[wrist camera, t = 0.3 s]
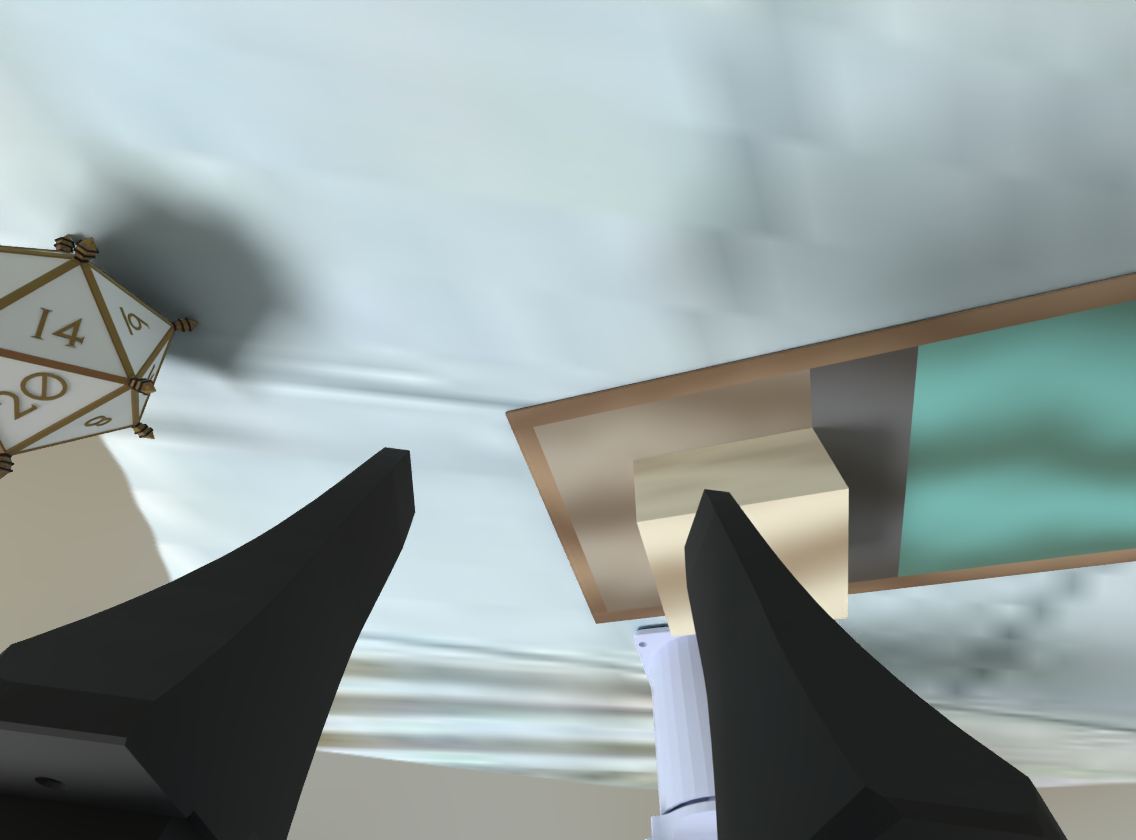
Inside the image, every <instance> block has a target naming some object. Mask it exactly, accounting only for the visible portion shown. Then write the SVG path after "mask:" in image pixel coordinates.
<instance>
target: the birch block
mask: <svg viewBox="0 0 1136 840" xmlns="http://www.w3.org/2000/svg"><path fill="white" fill-rule="evenodd" d="M633 470H634V486H635V502H636V518H637V525H638V528H639V531H640V535H641V538H642V541H643V544H644V548H645V551H646V554H647V557H648V561H649V564H650V567H651V570H652V574H653V577H654V580H655V583H656V587H657V590H658V593H659V597H660V600H661V603H662V606H663V610H664V613H665V616H666V619H667V623H668V626H669V629H670V632H671V636H672V637H674V636H683V635H693V634H696V633H695V628H694V623H693V618H692V612H691V607H690V602H689V596H688V591H687V583H686V570H685V551H684V546H685V543H686V541H687V538H688V535H689V532H690V529H691V526H692V523H693V520H694V517H695V514H696V512H697V509H698V506H699V503H700V500H701V497H702V494H703V491H704V489H709V490H717V491H724V492H730V494H731V495H732V496H733V498H734V499H735V500H736V502H737V503H738V504H739V506H740V507H741V509H742V510H743V511H744V513H745V514H746V515H747V517H748V518H749V519H750V521H751V522H752V523H753V525H754V526H755V528H756V529H757V530H758V532H759V533H760V534H761V536H762V537H763V538H764V540H765V541H766V542H767V543H768V545H769V546H770V547H771V549H772V550H773V551H774V552H775V554H776V555H777V556H778V557H779V559H780V560H781V561H782V562H783V564H784V565H785V566H786V567H787V569H788V570H789V571H790V572H791V573H792V575H793V576H794V577H795V578H796V579H797V580H798V581H799V583H800V584H801V585H802V586H803V587H804V588H805V589H806V591H807V592H808V593H809V594H810V595H811V596H812V597H813V599H814V600H815V601H816V602H817V603H818V604H819V605H820V606H821V607H822V608H823V609H824V610H825V611H826V612H827V613H828V614H829V615H830V616H831V617H832V618H833V619H843V618H848V519H849V488H848V486H847V485H846V483H845V481H844V480H843V478H842V476H841V475H840V473H839V471H838V470H837V468H836V466H835V465H834V463H833V461H832V460H831V458H830V456H829V455H828V453H827V451H826V450H825V448H824V446H823V445H822V443H821V441H820V440H819V438H818V436H817V435H816V433H815V431H814V430H813V428H808V429H802V430H797V431H791V432H786V433H781V434H775V435H770V436H765V437H759V438H754V439H749V440H743V441H738V442H732V443H727V444H722V445H716V446H711V447H706V448H700V449H695V450H690V451H684V452H679V453H673V454H668V455H663V456H657V457H652V458H647V459H641V460H636V461H633Z"/></svg>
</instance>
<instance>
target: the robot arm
mask: <svg viewBox="0 0 1136 840" xmlns="http://www.w3.org/2000/svg"><path fill="white" fill-rule="evenodd" d="M414 514H415V505H414V494H413V482H412V471H411V460H410V451H409V450H402V449H394V448H386V447H385V448H383V449H382V450H381V451H379V452H378V453H377V454H375V455H374V456H372V457H371V458H370V459H368V460H367V461H366V462H365V463H363V464H362V465H361V466H359V467H358V468H357V469H355V470H354V471H353V472H352V473H350V474H349V475H348V476H346V477H345V478H344V479H342V480H341V481H340V482H338V483H337V484H336V485H334V486H333V487H332V488H330V489H329V490H327V491H326V492H325V493H323V494H322V495H321V496H319V497H318V498H317V499H315V500H314V501H312V502H311V503H309V504H308V505H306V506H305V507H303V508H302V509H300V510H299V511H297V512H296V513H295V514H293V515H292V516H290V517H289V518H287V519H286V520H284V521H283V522H281V523H280V524H278V525H276V526H275V527H273V528H272V529H270V530H268V531H267V532H265V533H263V534H262V535H260V536H258V537H257V538H255V539H253V540H251V541H250V542H248V543H246V544H244V545H243V546H241V547H239V548H237V549H236V550H234V551H232V552H230V553H228V554H226V555H225V556H223V557H221V558H219V559H217V560H215V561H213V562H211V563H209V564H207V565H205V566H203V567H201V568H199V569H197V570H195V571H192V572H190V573H188V574H186V575H184V576H182V577H180V578H178V579H176V580H174V581H172V582H170V583H168V584H166V585H163V586H161V587H159V588H157V589H155V590H152V591H150V592H148V593H145V594H143V595H141V596H138V597H136V598H134V599H131V600H129V601H126V602H124V603H122V604H119V605H117V606H115V607H112V608H110V609H107V610H104V611H102V612H99V613H97V614H94V615H92V616H89V617H87V618H84V619H81V620H78V621H76V622H73V623H70V624H67V625H65V626H62V627H59V628H56V629H54V630H51V631H48V632H46V633H43V634H40V635H37V636H35V637H32V638H29V639H26V640H23V641H20V642H17V643H14V644H12V645H10V646H9V647H8V648H7V649H6V650H5V651H3V652H2V653H1V654H0V840H286V839H287V836H288V832H289V829H290V826H291V823H292V820H293V817H294V814H295V811H296V807H297V804H298V801H299V798H300V795H301V791H302V788H303V786H304V782H305V780H306V777H307V774H308V771H309V768H310V765H311V762H312V759H313V756H314V753H315V750H316V747H317V745H318V742H319V739H320V736H321V733H322V730H323V727H324V725H325V722H326V719H327V717H328V714H329V711H330V708H331V706H332V703H333V700H334V697H335V695H336V692H337V689H338V687H339V684H340V681H341V679H342V676H343V674H344V671H345V668H346V666H347V663H348V661H349V658H350V656H351V653H352V650H353V648H354V646H355V644H356V641H357V639H358V637H359V635H360V633H361V630H362V628H363V626H364V624H365V622H366V620H367V619H368V617H369V615H370V613H371V611H372V609H373V607H374V605H375V603H376V601H377V599H378V597H379V595H380V593H381V591H382V589H383V587H384V585H385V583H386V581H387V579H388V577H389V575H390V573H391V571H392V569H393V567H394V565H395V563H396V561H397V559H398V557H399V555H400V553H401V550H402V548H403V545H404V543H405V540H406V537H407V534H408V532H409V529H410V526H411V523H412V520H413V517H414ZM684 551H685V570H686V583H687V591H688V596H689V602H690V607H691V612H692V618H693V623H694V628H695V633H696V634H693V635H683V636H674V637H672V636H671V632H670V629H669V627H660V628H651V629H642V630H637V631H635V632H634V633H633V641H634V643H635V646H636V649H637V651H638V654H639V657H640V659H641V662H642V664H643V667H644V670H645V672H646V675H647V678H648V680H649V683H650V686H651V688H652V702H653V716H654V731H655V745H656V760H657V774H658V788H659V801H660V802H659V803H660V815H658V816H652V817H651V828H652V838H647V839H644V840H1067V838H1066V836H1065V835H1064V833H1063V832H1062V830H1061V828H1060V827H1059V825H1058V823H1057V822H1056V820H1055V819H1054V817H1053V815H1052V814H1051V812H1050V811H1049V809H1048V807H1047V806H1046V804H1045V802H1044V801H1043V799H1042V798H1041V796H1040V794H1039V793H1038V791H1037V789H1036V788H1035V786H1034V785H1033V783H1032V782H1031V780H1030V779H1029V777H1027V776H1026V775H1025V774H1023V773H1022V772H1020V771H1019V770H1018V769H1016V768H1015V767H1013V766H1012V765H1010V764H1009V763H1008V762H1006V761H1005V760H1003V759H1002V758H1001V757H999V756H998V755H996V754H995V753H994V752H992V751H991V750H989V749H988V748H987V747H985V746H984V745H982V744H981V743H980V742H978V741H977V740H975V739H974V738H972V737H971V736H970V735H968V734H967V733H965V732H964V731H963V730H961V729H960V728H959V727H957V726H956V725H955V724H953V723H952V722H951V721H950V720H948V719H947V718H946V717H944V716H943V715H942V714H941V713H939V712H938V711H937V710H935V709H934V708H933V707H932V706H930V705H929V704H928V703H927V702H925V701H924V700H923V699H921V698H920V697H919V696H918V695H917V694H915V693H914V692H913V691H912V690H910V689H909V688H908V687H907V686H906V685H904V684H903V683H902V682H901V681H900V680H898V679H897V678H896V677H895V676H894V675H893V674H892V673H890V672H889V671H888V670H887V669H886V668H885V667H884V666H882V665H881V664H880V663H879V662H878V661H877V660H876V659H874V658H873V657H872V656H871V655H870V654H869V653H868V652H867V651H866V650H864V649H863V648H862V647H861V646H860V645H859V644H858V643H857V642H856V641H855V640H854V639H853V638H852V637H851V636H850V635H849V634H848V633H847V632H846V631H845V630H844V629H843V628H842V627H841V626H840V625H839V624H838V623H837V622H836V621H835V620H834V619H833V618H832V617H831V616H830V615H829V614H828V613H827V612H826V611H825V610H824V609H823V608H822V607H821V606H820V605H819V604H818V603H817V602H816V601H815V600H814V599H813V597H812V596H811V595H810V594H809V593H808V592H807V591H806V589H805V588H804V587H803V586H802V585H801V584H800V583H799V581H798V580H797V579H796V578H795V577H794V576H793V575H792V573H791V572H790V571H789V570H788V569H787V567H786V566H785V565H784V564H783V562H782V561H781V560H780V559H779V557H778V556H777V555H776V554H775V552H774V551H773V550H772V549H771V547H770V546H769V545H768V543H767V542H766V541H765V540H764V538H763V537H762V536H761V534H760V533H759V532H758V530H757V529H756V528H755V526H754V525H753V523H752V522H751V521H750V519H749V518H748V517H747V515H746V514H745V513H744V511H743V510H742V509H741V507H740V506H739V504H738V503H737V502H736V500H735V499H734V498H733V496H732V495H731V494H730V492H724V491H717V490H709V489H704V491H703V494H702V497H701V500H700V503H699V506H698V509H697V512H696V514H695V517H694V520H693V523H692V526H691V529H690V532H689V535H688V538H687V541H686V543H685V546H684Z"/></svg>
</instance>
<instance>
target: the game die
mask: <svg viewBox="0 0 1136 840" xmlns="http://www.w3.org/2000/svg"><path fill="white" fill-rule="evenodd" d="M55 241H56V244H54V246H55V247H56V250H47V249H36V248H24V247H12V246H1V245H0V479H1V478H2V477H4V476H5V475H6V474H7V473H9V472H13V470H11V465H14V463H12V461H11V457H12V455H16V454H21V453H25V452H29V451H33V450H37V449H41V448H46V447H50V446H54V445H58V444H62V443H67V442H71V441H75V440H79V439H83V438H87V437H92V436H96V435H100V434H104V433H109V432H113V431H117V430H121V429H125V428H130V427H131V428H133V429H134V431H135V434H138V435H139V438H142V437H144V438H150V439H155V438H154V435H153V429H152V428H151V427H150V428H149V427H148V426H147V425H146V424H142V423H140V420H141V417H142V414H143V412H144V409H145V407H146V404H147V401H148V399H149V396H150V394H151V393H152V392H155V391H156V389H155V388H154V383H155V381H156V378H157V376H158V373H159V370H160V368H161V365H162V363H163V360H164V357H165V355H166V352H167V350H168V347H169V345H170V342H171V339H172V337H173V334H174V332H175V331H176V330H181V331H183V332H185V330H189V331H192V330H191V329H193V328H194V327H195V326H196V325H198V324H199V323H197V322H194V321H192V320H189V319H187V318H185V319H183V320H180V319H178V321H176V322H170V321H169V320H168V319H166V318H165V317H164V316H162V315H161V314H160V313H158V312H157V311H156V310H154V309H153V308H152V307H150V306H149V305H148V304H146V303H145V302H144V301H142V300H141V299H139V298H138V297H137V296H135V295H134V294H133V293H131V292H130V291H129V290H127V289H126V288H125V287H123V286H122V285H121V284H119V283H118V282H117V281H115V280H114V279H113V278H111V277H110V276H109V275H107V274H106V273H105V272H103V271H102V270H101V269H99V268H98V267H97V266H95V265H94V264H93V263H91V262H90V261H89V260H90V259H91V258H95V254H96V253H99V251H98V249H97V247H96V246H95V243H94V240H93V237H92V238H89V239H86V240H80V241H78V242H77V243H76V244H75V245H77V247H76V248H75V245H74V242H73V241H72V240H71V239H70V237H69V235H66V236H64V237H60V238H58V239H55ZM73 248H74V249H73ZM73 250H74V251H75V254H71V253H73Z"/></svg>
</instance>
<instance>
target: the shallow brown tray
mask: <svg viewBox="0 0 1136 840" xmlns="http://www.w3.org/2000/svg"><path fill="white" fill-rule="evenodd" d="M506 416H507V419H508V421H509V423H510V426H511V428H512V430H513V433H514V435H515V437H516V440H517V442H518V444H519V447H520V449H521V451H522V453H523V456H524V458H525V460H526V463H527V465H528V467H529V470H530V472H531V474H532V477H533V479H534V481H535V484H536V486H537V488H538V490H539V493H540V495H541V497H542V500H543V502H544V504H545V507H546V509H547V511H548V514H549V516H550V518H551V521H552V523H553V525H554V527H555V530H556V532H557V534H558V537H559V539H560V541H561V544H562V546H563V548H564V551H565V553H566V555H567V558H568V560H569V562H570V565H571V567H572V569H573V571H574V574H575V576H576V578H577V581H578V583H579V585H580V588H581V590H582V592H583V595H584V597H585V599H586V602H587V604H588V606H589V608H590V611H591V613H592V615H593V618H594V620H595V622H596V624H598V623H606V622H615V621H623V620H632V619H641V618H649V617H658V616H665V613H664V610H663V606H662V603H661V600H660V597H659V593H658V590H657V587H656V583H655V580H654V577H653V574H652V570H651V567H650V564H649V561H648V557H647V554H646V551H645V548H644V544H643V541H642V538H641V535H640V531H639V528H638V525H637V518H636V502H635V486H634V470H633V461H636V460H641V459H647V458H652V457H657V456H663V455H668V454H673V453H679V452H684V451H690V450H695V449H700V448H706V447H711V446H716V445H722V444H727V443H732V442H738V441H743V440H749V439H754V438H759V437H765V436H770V435H775V434H781V433H786V432H791V431H797V430H802V429H808V428H813V430H814V431H815V433H816V435H817V436H818V438H819V440H820V441H821V443H822V445H823V446H824V448H825V450H826V451H827V453H828V455H829V456H830V458H831V460H832V461H833V463H834V465H835V466H836V468H837V470H838V471H839V473H840V475H841V476H842V478H843V480H844V481H845V483H846V485H847V486H848V488H849V519H848V594H856V593H865V592H873V591H882V590H890V589H899V588H908V587H916V586H925V585H933V584H942V583H951V582H959V581H968V580H977V579H985V578H994V577H1002V576H1011V575H1020V574H1028V573H1037V572H1045V571H1054V570H1063V569H1071V568H1080V567H1088V566H1097V565H1106V564H1114V563H1123V562H1132V561H1136V273H1133V274H1129V275H1124V276H1120V277H1115V278H1110V279H1106V280H1101V281H1097V282H1092V283H1088V284H1083V285H1079V286H1074V287H1070V288H1065V289H1061V290H1056V291H1052V292H1047V293H1043V294H1038V295H1033V296H1029V297H1024V298H1020V299H1015V300H1011V301H1006V302H1002V303H997V304H993V305H988V306H984V307H979V308H975V309H970V310H966V311H961V312H956V313H952V314H947V315H943V316H938V317H934V318H929V319H925V320H920V321H916V322H911V323H907V324H902V325H898V326H893V327H889V328H884V329H879V330H875V331H870V332H866V333H861V334H857V335H852V336H848V337H843V338H839V339H834V340H830V341H825V342H821V343H816V344H812V345H807V346H803V347H798V348H793V349H789V350H784V351H780V352H775V353H771V354H766V355H762V356H757V357H753V358H748V359H744V360H739V361H735V362H730V363H726V364H721V365H716V366H712V367H707V368H703V369H698V370H694V371H689V372H685V373H680V374H676V375H671V376H667V377H662V378H658V379H653V380H649V381H644V382H639V383H635V384H630V385H626V386H621V387H617V388H612V389H608V390H603V391H599V392H594V393H590V394H585V395H581V396H576V397H572V398H567V399H562V400H558V401H553V402H549V403H544V404H540V405H535V406H531V407H526V408H522V409H517V410H513V411H508V412H506Z"/></svg>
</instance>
